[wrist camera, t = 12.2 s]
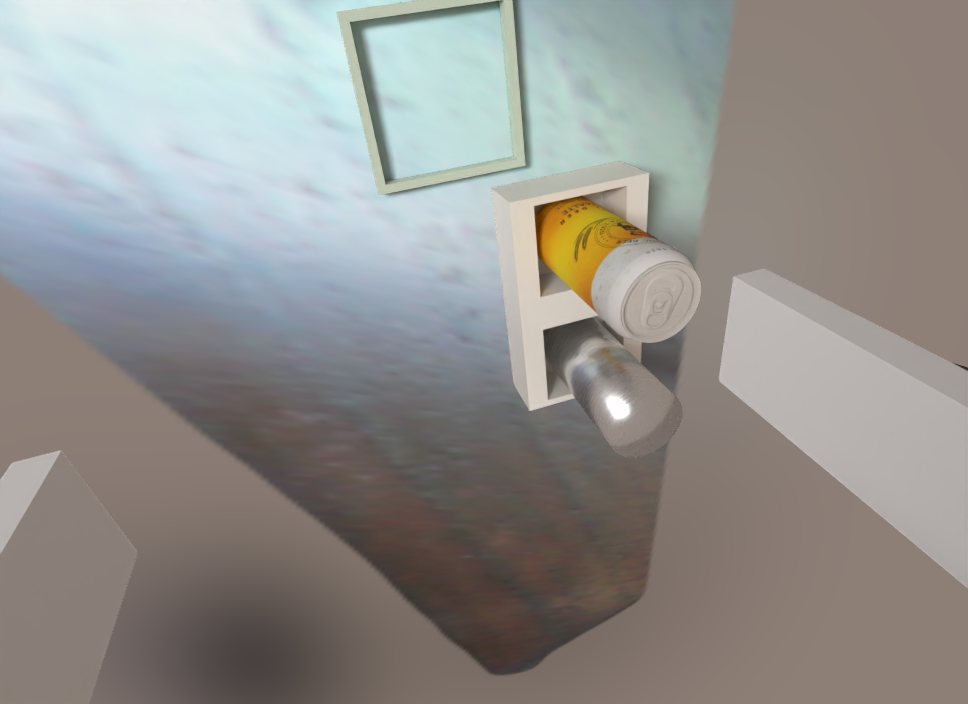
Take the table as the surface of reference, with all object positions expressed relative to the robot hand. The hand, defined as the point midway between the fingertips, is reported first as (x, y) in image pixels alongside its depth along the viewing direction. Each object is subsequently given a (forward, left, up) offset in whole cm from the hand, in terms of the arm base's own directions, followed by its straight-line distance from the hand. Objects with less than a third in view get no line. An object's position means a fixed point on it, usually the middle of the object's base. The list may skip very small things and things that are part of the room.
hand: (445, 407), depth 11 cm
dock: (+14, +16, -32) cm, 38 cm away
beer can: (+9, +16, -31) cm, 36 cm away
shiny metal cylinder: (+20, +16, -31) cm, 40 cm away
